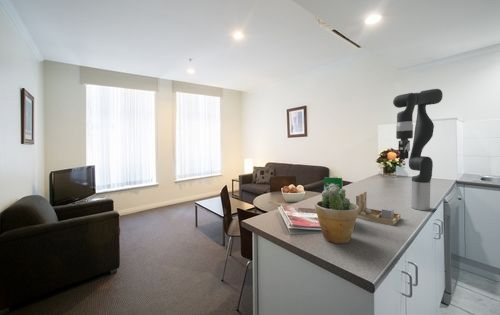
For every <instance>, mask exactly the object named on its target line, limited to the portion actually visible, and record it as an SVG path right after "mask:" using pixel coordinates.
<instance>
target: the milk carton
mask: <svg viewBox="0 0 500 315" xmlns="http://www.w3.org/2000/svg"><path fill="white" fill-rule="evenodd" d="M331 184H335V185H337V186H338V188H339V191H340V189H343V178H342V177H338V176H335V175H334V176H333V175H331V176H329V177H327V176H325V177H323V191H325V190H327V191H329V190H328V189H329V188H328V187H329V185H331Z"/></svg>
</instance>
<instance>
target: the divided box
mask: <svg viewBox="0 0 500 315" xmlns="http://www.w3.org/2000/svg"><path fill="white" fill-rule="evenodd" d="M355 198H356V200H355V201H356V202H355V204H356V205H358V206H359V212H358V217H357V218H356V219H361V220H365V221H370V222H373V223H380V224H384V225H389V226H392V227H394V226H395V225H396V224H397V222H399V221H400V220H401V214H400V213H396V212H394V219H393V220H388V219H383V218H382V210H380V209H379V210H378V209H373V208H369V209H370V210H371V213H370V214H367V213H366V212H365V209H367V208H368V207H367V191H364V192H362V193H360V194H358V195H356V196H355ZM360 212H365V213H366V215H363V214H360Z"/></svg>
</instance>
